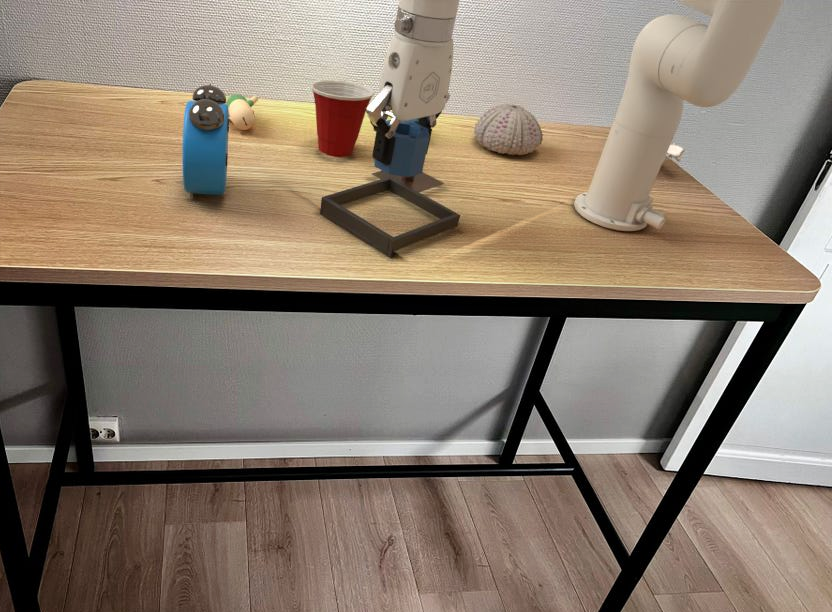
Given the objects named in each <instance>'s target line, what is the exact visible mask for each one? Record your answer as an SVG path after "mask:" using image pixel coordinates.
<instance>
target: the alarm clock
mask: <svg viewBox="0 0 832 612" xmlns="http://www.w3.org/2000/svg"><path fill="white" fill-rule="evenodd" d="M226 102H227V96H226V94H225V92H224V91H223V90H222V89H221V88H219V87H217V86H215V85H212V83H208V84H204V85H201V86H199V87H197V88H196V89H195V90H194V91H193V93H192V100H189V101H187V102H186V104H185V108H184V115H183V129H182V158H181V159H182V182H183V189H184V191H185V192H186V193H188V194H189V200H193V195H194V194H198V195H210V196H224V195H226V190H227V177H228V158H229V157H228V156H229V155H228V153H229V132H230V118H229V109H228V105H226Z"/></svg>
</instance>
